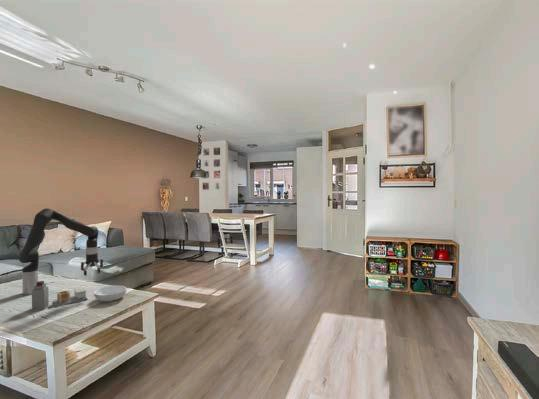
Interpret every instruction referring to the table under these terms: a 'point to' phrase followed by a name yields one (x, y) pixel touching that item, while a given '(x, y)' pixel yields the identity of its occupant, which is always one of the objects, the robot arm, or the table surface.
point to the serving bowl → (110, 293)
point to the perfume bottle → (40, 296)
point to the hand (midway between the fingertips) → (92, 274)
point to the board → (72, 300)
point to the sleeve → (63, 296)
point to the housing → (80, 293)
